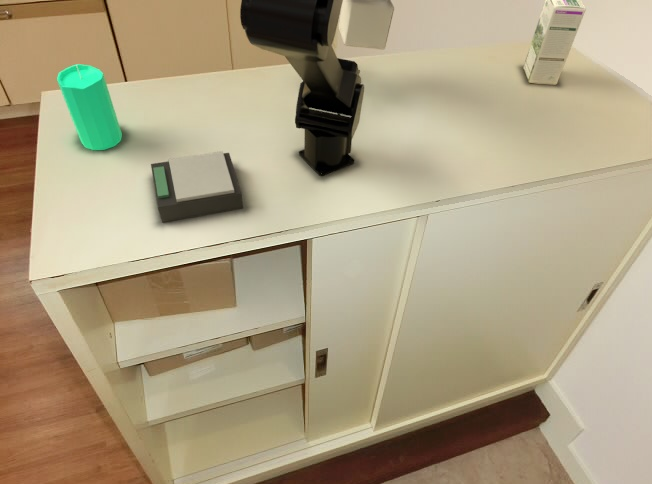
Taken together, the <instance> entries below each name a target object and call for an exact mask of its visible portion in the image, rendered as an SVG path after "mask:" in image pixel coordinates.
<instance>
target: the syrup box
mask: <svg viewBox="0 0 652 484" xmlns="http://www.w3.org/2000/svg"><path fill="white" fill-rule="evenodd" d="M586 11H587V8H586V6H585V5H584V3H583V1H582V0H544V4H543V5H542V10H541V13H540V15H539V18H538V22H537V25H536V28H535V31H534V34H533V36H532V40H531V42H530V45H529V48H528V51H527V54H526V57H525V60H524V63H523V67H522V69H523V71H524V74H525V76H526V80H527V81H528V83H530V84H538V85H552V86H555V85H556V86H557V85H558V82H559V79H560V77H561V75H562V71H563V69H564V67H565V64H566V62H567V59H568V57H569V54H570V51H571V48H572V47H573V43H574V42H575V38H576V36H577V34H578V31H579V29H580V25H581V23H582V20H583V18H584V15H585V14H586Z"/></svg>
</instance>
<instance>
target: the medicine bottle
mask: <svg viewBox="0 0 652 484" xmlns="http://www.w3.org/2000/svg"><path fill="white" fill-rule="evenodd" d="M394 11H395V6H394V4H393V2H392V0H343V2H342V6H341V11H340V15H339V19H338V30H339V32H340V35H341V40H342V42H343V45H344V46H345V47H354V48H362V49H372V50H373V49H374V50H385V49H386V46H387V42H388V37H389V34H390V28H391V23H392V19H393V15H394Z"/></svg>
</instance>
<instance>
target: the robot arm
mask: <svg viewBox="0 0 652 484" xmlns="http://www.w3.org/2000/svg"><path fill="white" fill-rule="evenodd" d="M240 1H241V2H240V7H239V8H240V11H239V14H240V15H239V18H240V24H241V27H242V29H243V30H244V32H245V37H246V38H247V40H248V42H249V43H250V45H252V46H254V47H257V48H259V49H260V50H263V51H265V52H266V51H267V52H269V53H273V54H276V55H280V56H283V57H285V58H286V60H287V61H288V62H289V64H290V65H291V67H292V68H293V69H294V71H295V72H296V73H297V75H298V76H299V78H300V79H301V80H302V81H301V82H300V84H299V89H298V94H297V100H296V106H295V117H294V125H295V129H299V130H300V129H302V130H304V137H303V138H304V143H303V144H304V145H303V146H304V149H301V150H299V151H298V156H299V157H300V158H301V159H302V160H303V162H305V163H306V164H307V166H309V167H310V168H311V169H312V170H313V171H314V172H315V173H316V174H317V176H318V177H321V178H322V177H325V176H328V175H330V174H333V173H335V172H338V171H340V170H342V169H345V168H347V167H348V168H349V167H350V166H353V165H354V164H355V161H356V160H355V158H354V157H353V156H351V155H350V154H351V152H352V143H353V142H352V141H353V139H354V136H355V133H356V132H357V129H358V126H359V124H360V120H361V113H362V108H363V100H364V93H365V84H363V83H362V77H361V76H360V74H361V69H359V66H358V63H357V62H356V61H355V60H349V59H344V58H339V57H337V54H336V52H335V50H334V48H333V46H332V45H333V42H334V39H335V36H336V32H337V27H338V25H339V20H340V14H341V8H342V2H343V0H240Z"/></svg>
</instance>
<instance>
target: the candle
mask: <svg viewBox="0 0 652 484" xmlns="http://www.w3.org/2000/svg"><path fill="white" fill-rule="evenodd" d="M56 81H57V83H58V86H59V89H60V91H61V94H62V96H63V99H64V102H65V105H66V108H67V109H68V112H69V114H70V117H71V120H72V122H73V125H74V128H75V130H76V132H77V136H78V138H79V141H80V143H81V144H82V146H83V147H84V148H86V149H88V150H91V151H105V150H108V149H111V148H114V147H115V146H117V145H118V144H119V143H120V142H121V141H122V138H123V133H122V129H121V126H120V124H119V120H118V117H117V113H116V110H115V107H114V104H113V101H112V97H111V94H110V91H109V88H108V84H107V81H106V77H105V75H104V73H103V71H101V69H99V68H97V67H95V66H92V65H89V64H81V63H76V64H73V65H71V66H68V67H66V68H64V69H62V70H61V71H59V72H58V74H57V78H56Z"/></svg>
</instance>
